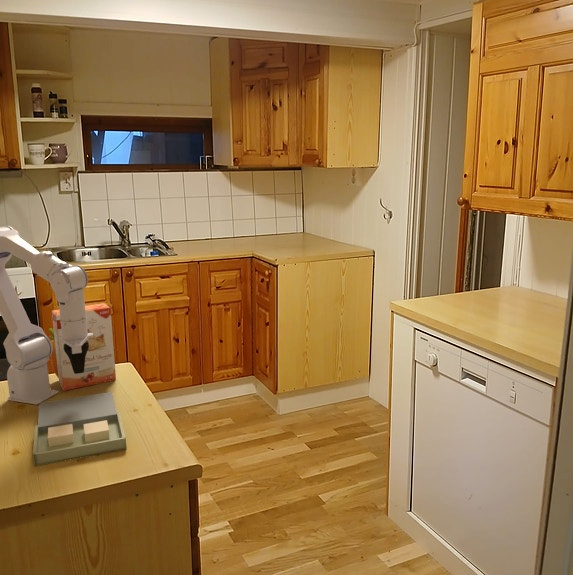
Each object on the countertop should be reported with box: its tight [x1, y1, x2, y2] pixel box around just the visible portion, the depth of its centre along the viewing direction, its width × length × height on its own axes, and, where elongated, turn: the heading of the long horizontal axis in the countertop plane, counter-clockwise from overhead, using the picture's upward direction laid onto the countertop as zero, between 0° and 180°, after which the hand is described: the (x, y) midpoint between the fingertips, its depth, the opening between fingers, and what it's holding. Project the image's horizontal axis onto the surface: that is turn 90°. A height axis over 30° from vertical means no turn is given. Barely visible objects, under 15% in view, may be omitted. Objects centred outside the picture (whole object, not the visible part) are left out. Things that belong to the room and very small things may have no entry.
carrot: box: [48, 327, 59, 379], centre depth 159 cm, size 5×5×15 cm
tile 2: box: [83, 420, 110, 443], centre depth 129 cm, size 5×5×2 cm
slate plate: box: [37, 391, 118, 434], centre depth 139 cm, size 14×17×2 cm
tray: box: [32, 411, 128, 467], centre depth 127 cm, size 14×18×2 cm
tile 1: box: [48, 424, 74, 447], centre depth 128 cm, size 5×5×2 cm
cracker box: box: [51, 302, 117, 392], centre depth 157 cm, size 14×6×21 cm, turn 122°
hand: (79, 372), depth 141 cm, fingers closed
